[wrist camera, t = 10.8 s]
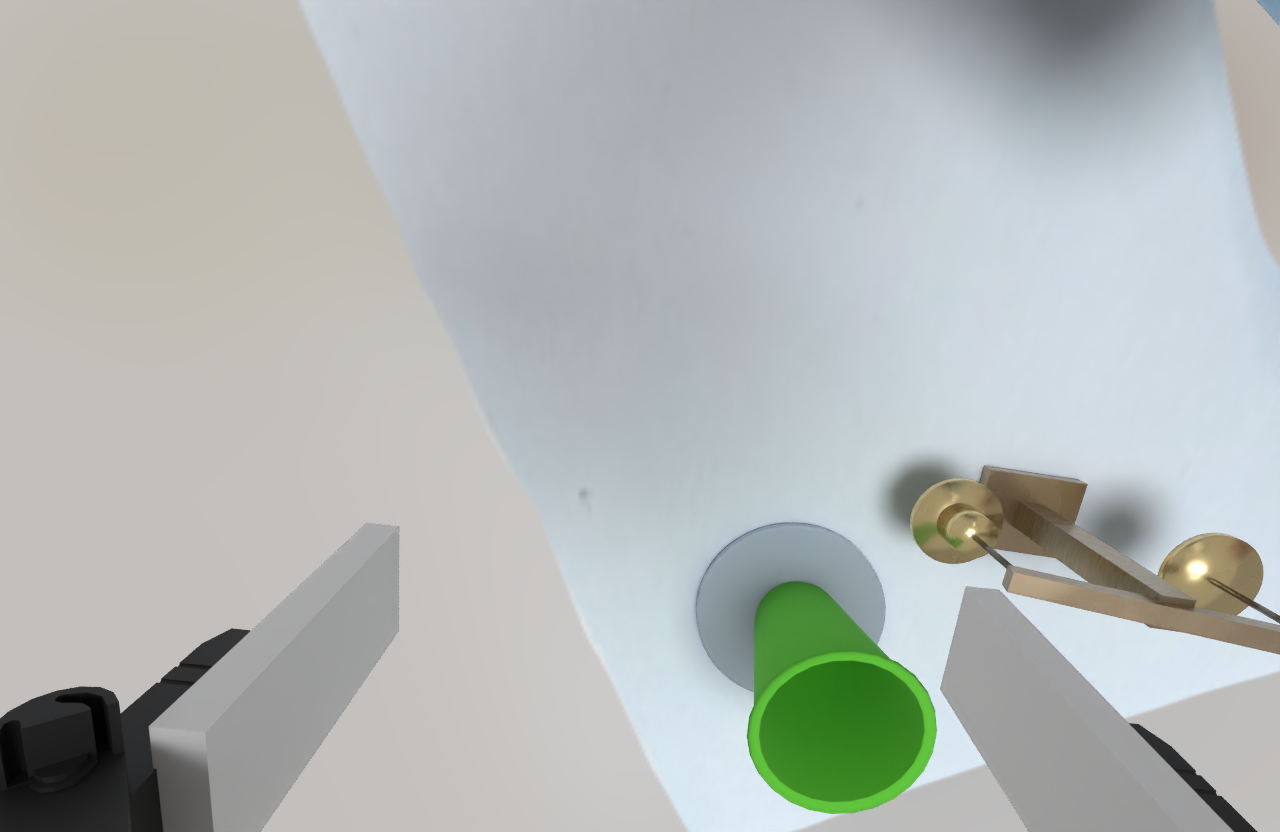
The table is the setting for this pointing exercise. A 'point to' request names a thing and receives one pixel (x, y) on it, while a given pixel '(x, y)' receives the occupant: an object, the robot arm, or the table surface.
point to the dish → (768, 564)
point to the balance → (1093, 557)
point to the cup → (832, 707)
